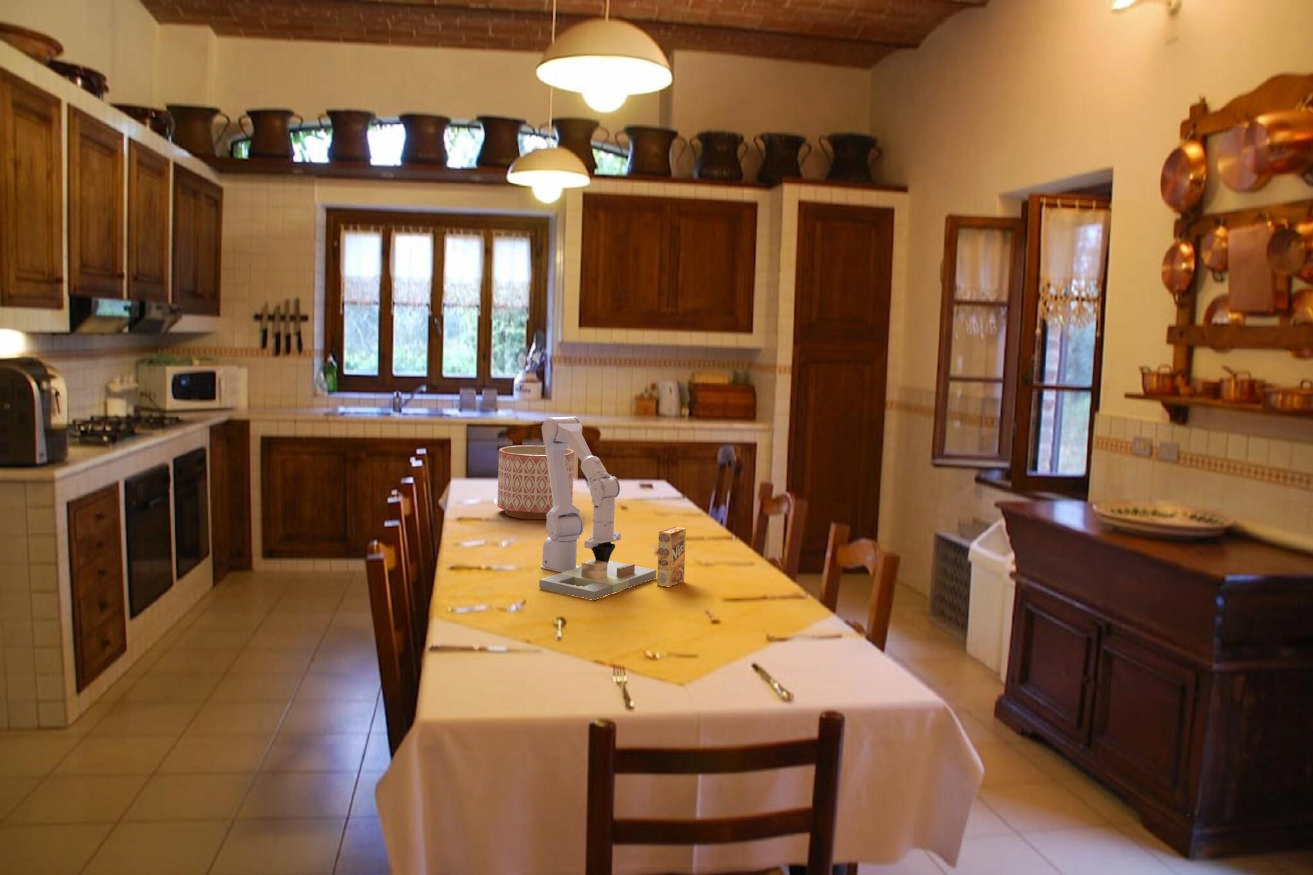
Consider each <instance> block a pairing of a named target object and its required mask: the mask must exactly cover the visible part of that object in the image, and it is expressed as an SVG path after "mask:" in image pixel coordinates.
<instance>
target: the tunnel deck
mask: <svg viewBox="0 0 1313 875" xmlns="http://www.w3.org/2000/svg"><path fill="white" fill-rule="evenodd" d="M592 559H593V560H596V559H595V557H593V558H591V559H588V560H584V561H583V562H586V561H589V560H592ZM581 572H582V566H581V567H579V568H576V569H572V570H569V571H566V572H563V573H562V572H558V573H556V574H553V575H550V576H547V577H544V578H541V579H539V585H538V587H539V588H541V589H540V590H542V589H544V590H543V591H547V590H550V591H549V592H551V591H552V593H555V592H558V593H557V594H560V593H562V594H561V595H564V594H569V595H574V596H578V597H584V598H587V599H592V600H595V599H597V598H600V597H603V596H605V595H608V594H612V593H614V592H618V591H620V590H623V591H625V590H624V589H626V588H629V587H631V586H634V585H637V586H639V585H638V584H640V583H642V584H644V583H643V582H645V581H648V580H650V579H653V580H655V579H654V578H656V579H657V569H654V568H648V567H643V566H638V565H636V564H635V563H623V562H620V561H619V562H617V561H614V560H613V561H612V560H609V561H608V565H607V577H604V578H601V579H598V580H593V579H588V578H583V577H581ZM648 582H649V581H648ZM645 583H646V582H645ZM574 585H576V586H574ZM640 585H641V584H640ZM579 586H583V587H579ZM634 587H635V586H634ZM539 588H538V589H539ZM631 588H632V587H631ZM629 589H630V588H629ZM626 590H627V589H626ZM620 592H621V591H620ZM618 593H619V592H618ZM569 595H568V596H569ZM612 595H613V594H612Z"/></svg>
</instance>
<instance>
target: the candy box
mask: <svg viewBox="0 0 1313 875" xmlns="http://www.w3.org/2000/svg"><path fill="white" fill-rule="evenodd" d="M686 531H687V528H686V527H678V526H672V527H670V528H667V529H664V530H661V531H658V542H657V543H658V546H657V548H658V550H657V573H656V582H657V583H656V585H663V586H671V587H673V586H672V585H674V586H676V585H677V584H676V583H679V584H681V583H682V582H681V581H684V582H685V564H686V561H685V560H686V559H685V558H686V541H687V540H686V535H687V532H686ZM680 582H681V583H680ZM675 584H676V585H675ZM663 586H662V587H663Z"/></svg>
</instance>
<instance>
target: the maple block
mask: <svg viewBox="0 0 1313 875" xmlns="http://www.w3.org/2000/svg"><path fill="white" fill-rule="evenodd" d="M591 559H592V560H590V559H588V560H589V561H587V560H585V561H586V562H584V561H583V562H581V567H582V572H581V577H583V578H588V579H593V580H598V579H601V578H604V577H607V563H608V562H603V561H598V560H593V559H594V558H591Z"/></svg>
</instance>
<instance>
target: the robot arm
mask: <svg viewBox="0 0 1313 875" xmlns="http://www.w3.org/2000/svg"><path fill="white" fill-rule="evenodd" d="M541 434H542V440H543V446H545V448H546V456H547V463H548V470H549V477H550V485H551V492H552V499H553V506H554V507H553V508H552V509H551V510H550V511H549V512H548V513H547V514H546V517H547V519H546V524H545V532H546V533H547V536H548V537H547V538H546V539H545V540H544V542H543V544H542V565H540V569H544V570H549V571H552V572H558V573H563V572H566V571H569V570H572V569H576V568H579V567H582V565H581V566H580V565H577V550H578V548H577V546H578V539H580V536H581V535H582V534H583V532H584V527H585V526H584V520H583V518H582V515H581V512H580V509H579V508H577V507H576V506H575V505H573V501H572V502H571V495H570V488H569V480H568V473H567V466H566V459H565V452H564V451H565V449H566V448H568V446H570V449H571V450H573V451H574V454H576V456H577V457H578V459H579V460H580V462H581V464H580V470H581V471H582V473H583V475H584V476H585V478H586V479H587V481H588V484H590V487H589V493H590V496H591V503H592V505H593V514H592V517H593V518H592V536H591V537H590V538H589V537H588V539H585V540H584V548H585V549H589V550H591V552H592V553H593V555H594V558H595V559H596V560H598V561H603V562H608V561H610V558H611V556H612V553H613V552H614V550H615V548H616V544H615V542H617V541H621V538H622V533H621V532H614V529H615V507H616V506H615V505H616V503H615V502H616V498H617V497H618V496H619V495H620V492H621V486H620V483H619V479H618V478H617V477H616V476H612V474H610V473H608V472H607V469H606V467H605V466H604V464H603V463H602V461H601V460H600V458H599V457H598V456H595V455H593V453H592V452H591V450H590V448H589V446H588V444H587V442H586V439H585V437H584V436H583V425H582V424H581V421H580V419H579V418H578V417H577V416H561V417H560V416H559V417H552V416H548V417H547V418H545V419H544V421H543V423H542V425H541ZM559 515H563V516H561V517H558V516H559ZM607 565H608V563H607Z"/></svg>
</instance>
